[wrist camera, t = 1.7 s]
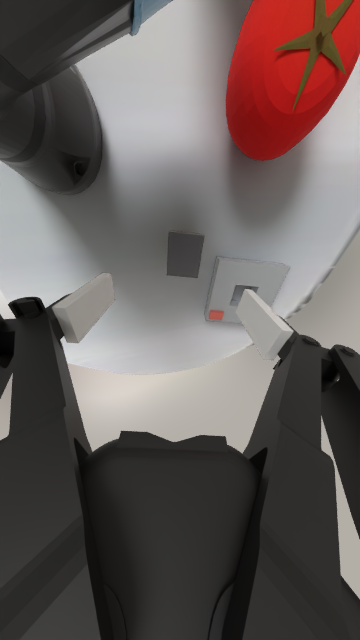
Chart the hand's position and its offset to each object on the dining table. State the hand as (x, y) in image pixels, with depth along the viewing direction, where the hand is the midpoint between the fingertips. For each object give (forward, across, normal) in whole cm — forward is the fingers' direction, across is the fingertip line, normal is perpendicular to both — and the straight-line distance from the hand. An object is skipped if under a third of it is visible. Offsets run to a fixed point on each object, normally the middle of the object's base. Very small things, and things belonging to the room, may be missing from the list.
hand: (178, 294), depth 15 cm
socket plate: (+19, +15, -6) cm, 25 cm away
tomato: (+19, +9, +20) cm, 29 cm away
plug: (+19, +1, +2) cm, 19 cm away
